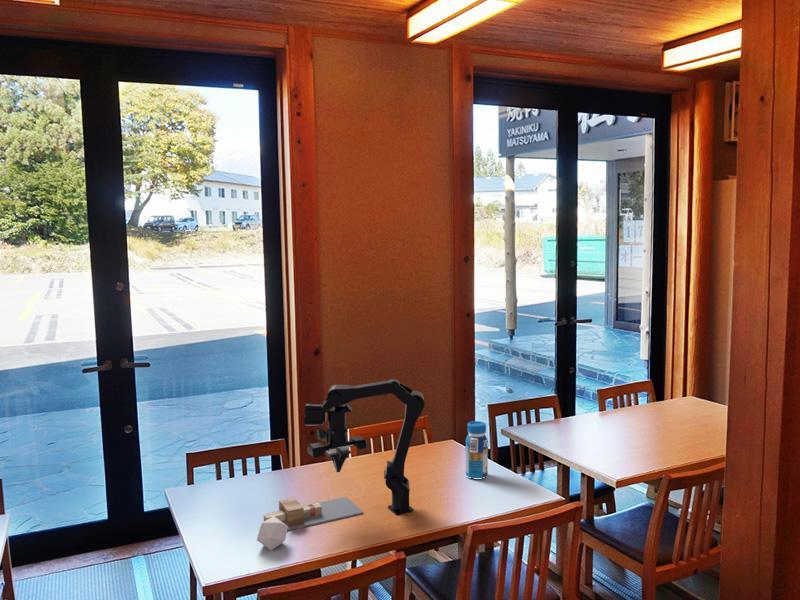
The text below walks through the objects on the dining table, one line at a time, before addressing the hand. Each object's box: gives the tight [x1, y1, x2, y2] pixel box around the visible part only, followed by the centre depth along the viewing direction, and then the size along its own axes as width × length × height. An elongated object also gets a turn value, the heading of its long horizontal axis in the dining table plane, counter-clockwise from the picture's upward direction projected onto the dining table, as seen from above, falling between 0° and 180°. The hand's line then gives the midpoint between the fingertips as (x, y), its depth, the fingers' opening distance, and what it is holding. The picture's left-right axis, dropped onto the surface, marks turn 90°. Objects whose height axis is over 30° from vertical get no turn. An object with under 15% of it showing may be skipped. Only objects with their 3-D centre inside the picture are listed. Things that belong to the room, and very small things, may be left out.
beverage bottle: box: [464, 420, 489, 478], centre depth 241 cm, size 8×8×20 cm
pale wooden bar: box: [263, 502, 322, 523], centre depth 207 cm, size 3×18×3 cm, turn 118°
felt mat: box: [266, 496, 364, 532], centre depth 211 cm, size 14×28×1 cm, turn 118°
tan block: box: [278, 497, 304, 527], centre depth 206 cm, size 9×5×5 cm, turn 28°
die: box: [256, 516, 288, 551], centre depth 190 cm, size 8×9×10 cm
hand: (338, 471), depth 213 cm, fingers closed
